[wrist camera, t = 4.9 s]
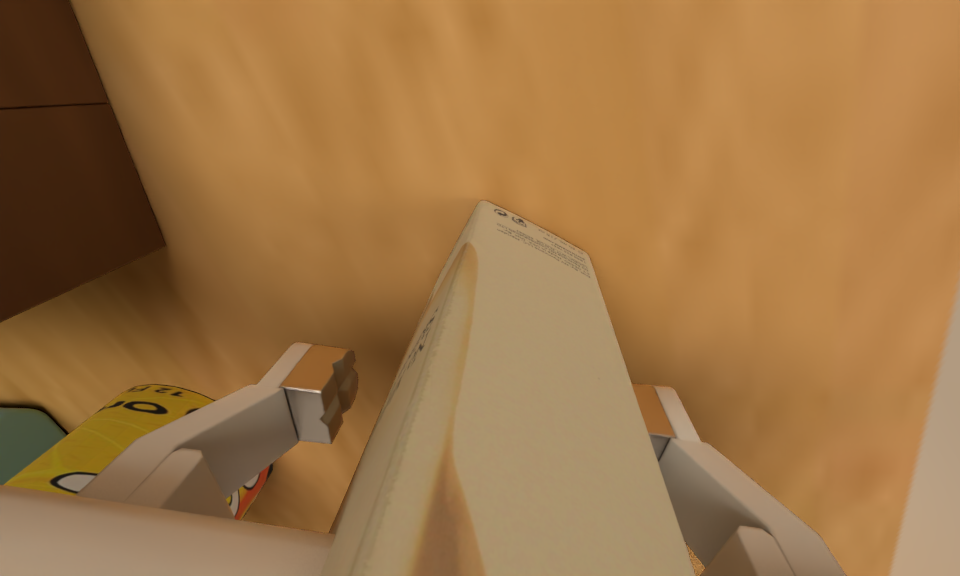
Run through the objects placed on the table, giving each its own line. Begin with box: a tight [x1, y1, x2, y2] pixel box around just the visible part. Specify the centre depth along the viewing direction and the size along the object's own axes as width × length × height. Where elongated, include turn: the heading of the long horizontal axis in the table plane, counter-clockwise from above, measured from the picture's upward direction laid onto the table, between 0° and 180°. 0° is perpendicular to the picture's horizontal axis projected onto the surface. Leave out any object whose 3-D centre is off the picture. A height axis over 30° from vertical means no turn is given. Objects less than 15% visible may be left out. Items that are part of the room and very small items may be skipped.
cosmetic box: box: [320, 200, 695, 576], centre depth 8 cm, size 6×4×12 cm
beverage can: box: [4, 385, 273, 520], centre depth 15 cm, size 9×9×12 cm
